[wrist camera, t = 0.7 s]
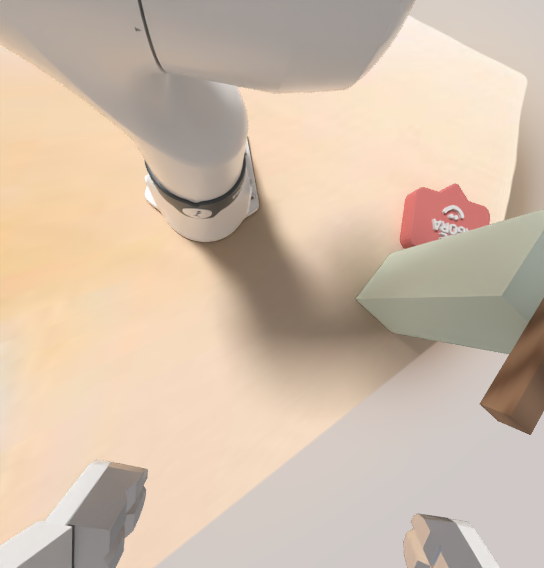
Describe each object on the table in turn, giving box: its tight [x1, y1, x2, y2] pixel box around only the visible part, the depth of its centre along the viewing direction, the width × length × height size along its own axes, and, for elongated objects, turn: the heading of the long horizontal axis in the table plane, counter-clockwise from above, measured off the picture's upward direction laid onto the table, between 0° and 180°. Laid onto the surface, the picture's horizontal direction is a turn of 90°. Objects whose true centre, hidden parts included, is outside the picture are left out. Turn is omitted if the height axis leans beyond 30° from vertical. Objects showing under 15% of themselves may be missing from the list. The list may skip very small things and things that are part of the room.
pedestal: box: [356, 209, 544, 354], centre depth 38 cm, size 12×10×26 cm
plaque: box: [400, 184, 490, 249], centre depth 52 cm, size 18×4×15 cm
